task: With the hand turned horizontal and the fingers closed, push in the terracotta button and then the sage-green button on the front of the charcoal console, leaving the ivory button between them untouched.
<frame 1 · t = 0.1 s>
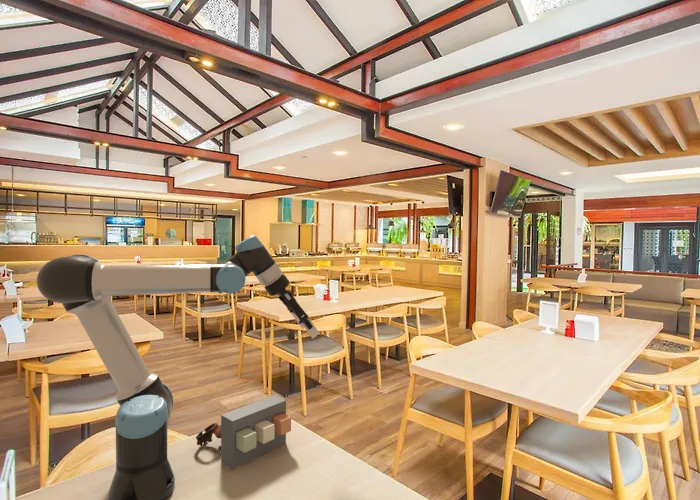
hand: (310, 330, 129), 36 cm above the table, tool tilted 35°, fingers open, 13 cm apart
terracotta button: (280, 423, 122), point 8 cm above the table, slide at 0.0 cm
pottery mug: (216, 446, 124), on the table
console: (254, 451, 121), on the table
ivory button: (263, 431, 118), point 8 cm above the table, slide at 0.0 cm
sage button: (245, 439, 113), point 8 cm above the table, slide at 0.0 cm
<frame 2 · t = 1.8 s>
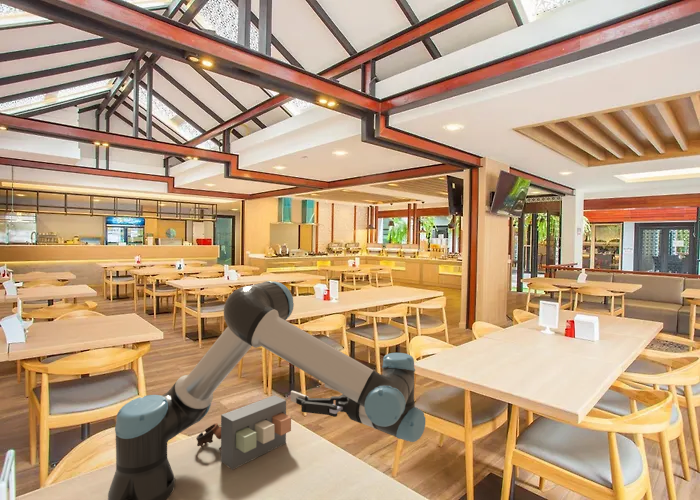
hand: (309, 388, 114), 22 cm above the table, tool horizontal, fingers open, 13 cm apart
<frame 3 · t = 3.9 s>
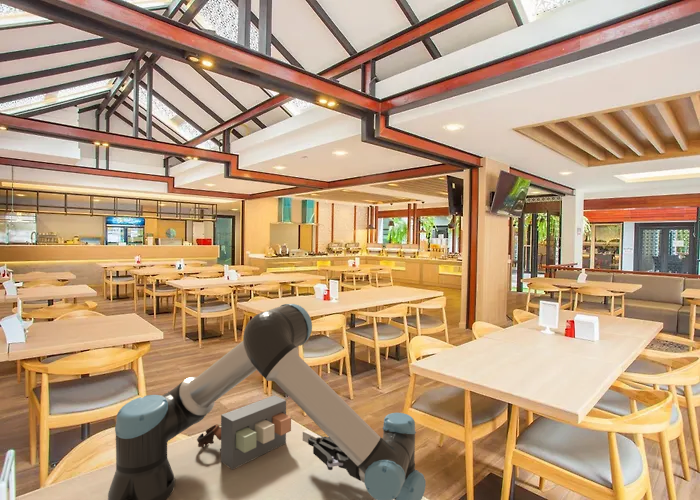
hand: (304, 435, 115), 8 cm above the table, tool horizontal, fingers closed
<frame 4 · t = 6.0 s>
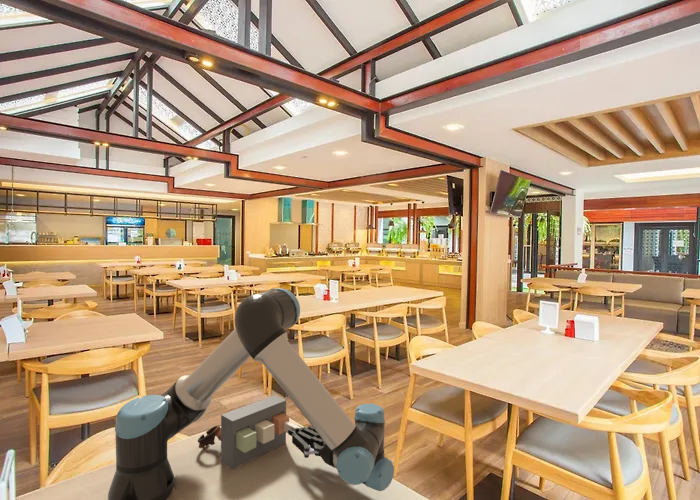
hand: (285, 425, 121), 8 cm above the table, tool horizontal, fingers closed
terracotta button: (279, 422, 123), point 8 cm above the table, slide at 0.9 cm, touching gripper
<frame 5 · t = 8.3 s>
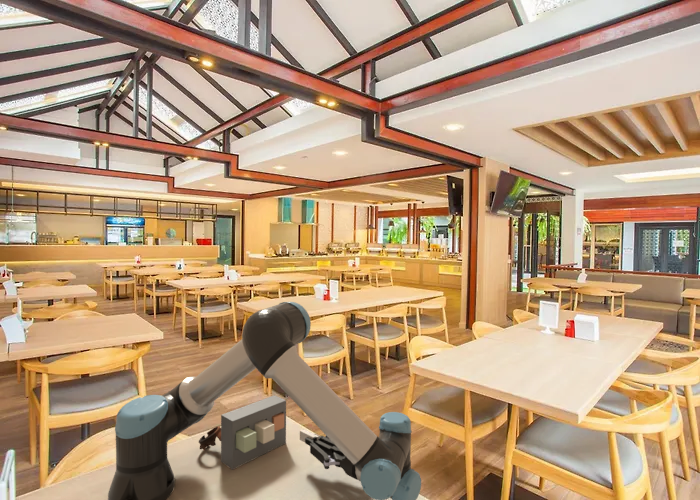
hand: (301, 434, 116), 8 cm above the table, tool horizontal, fingers closed
terracotta button: (274, 420, 125), point 8 cm above the table, slide at 3.3 cm
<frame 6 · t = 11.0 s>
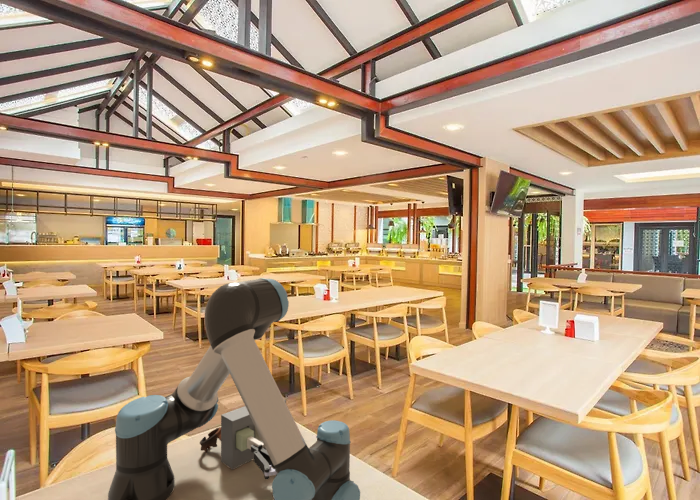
hand: (249, 441, 112), 8 cm above the table, tool horizontal, fingers closed
sage button: (243, 438, 113), point 8 cm above the table, slide at 1.2 cm, touching gripper
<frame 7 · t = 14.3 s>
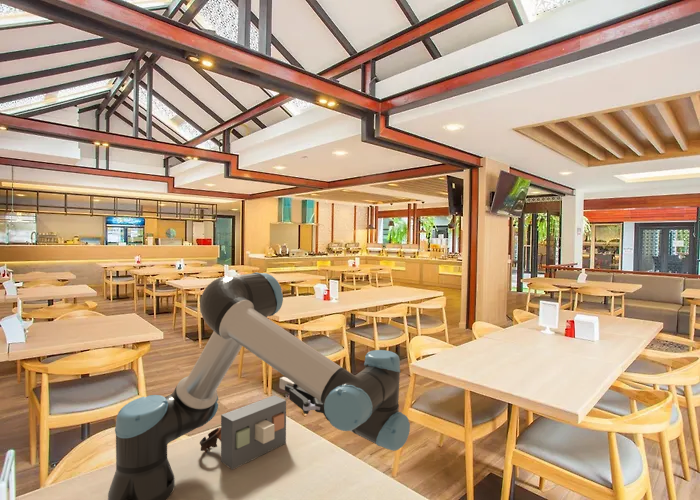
hand: (281, 382, 106), 27 cm above the table, tool horizontal, fingers closed
sage button: (238, 435, 115), point 8 cm above the table, slide at 3.3 cm
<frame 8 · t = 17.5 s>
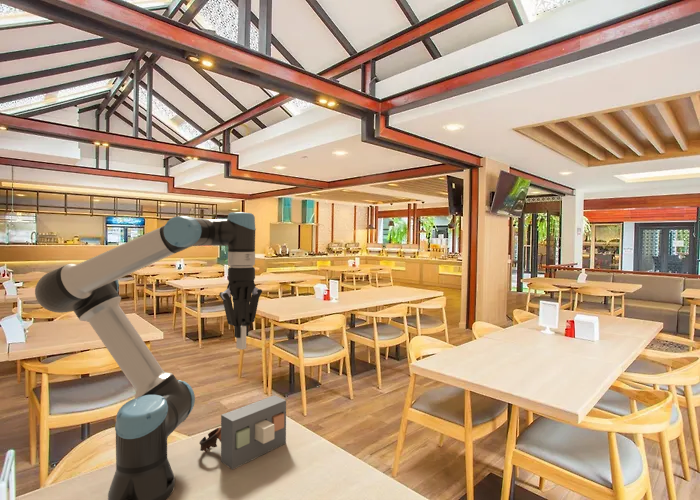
hand: (241, 348, 113), 34 cm above the table, tool pointing down, fingers closed
at the end: terracotta button slide at 3.3 cm; sage button slide at 3.3 cm; ivory button slide at 0.0 cm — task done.
